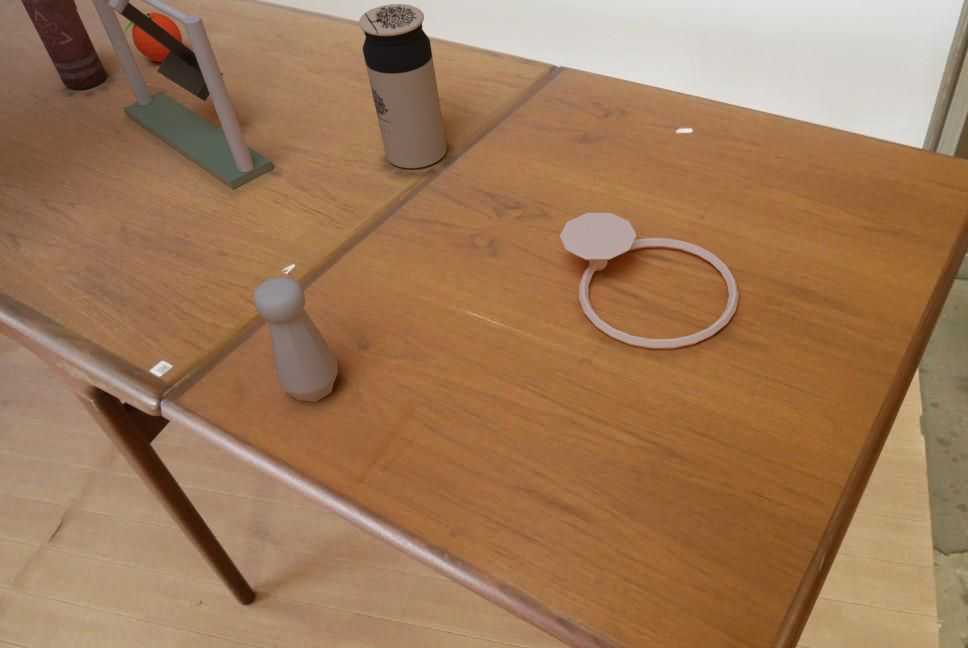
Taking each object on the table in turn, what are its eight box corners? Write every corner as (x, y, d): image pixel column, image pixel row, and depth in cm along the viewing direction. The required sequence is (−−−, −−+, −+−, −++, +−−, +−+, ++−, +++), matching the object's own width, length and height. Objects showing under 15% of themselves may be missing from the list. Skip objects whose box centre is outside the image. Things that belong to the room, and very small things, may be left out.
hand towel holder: (683, 346, 79) (517, 262, 88) (680, 377, 82) (520, 293, 91) (773, 251, 87) (613, 184, 96) (767, 283, 90) (613, 215, 100)
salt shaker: (315, 357, 86) (278, 257, 76) (355, 380, 83) (322, 280, 74) (271, 393, 82) (227, 294, 73) (312, 418, 80) (271, 319, 70)
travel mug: (441, 132, 114) (419, -2, 100) (452, 163, 108) (431, 26, 95) (382, 143, 112) (353, 8, 99) (390, 175, 107) (360, 38, 94)
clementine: (141, 76, 128) (121, 30, 122) (132, 58, 132) (112, 13, 126) (193, 61, 130) (176, 16, 125) (183, 44, 134) (166, -1, 129)
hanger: (205, 101, 107) (117, 39, 96) (165, 77, 112) (77, 15, 101) (244, 42, 107) (161, -28, 96) (203, 20, 112) (119, -49, 101)
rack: (233, 189, 106) (171, 31, 91) (126, 116, 120) (57, -33, 105) (273, 168, 109) (219, 11, 94) (164, 99, 123) (102, -49, 108)
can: (113, 81, 127) (70, -13, 116) (69, 95, 124) (21, 0, 114) (103, 66, 130) (60, -27, 120) (60, 79, 128) (13, -15, 118)
